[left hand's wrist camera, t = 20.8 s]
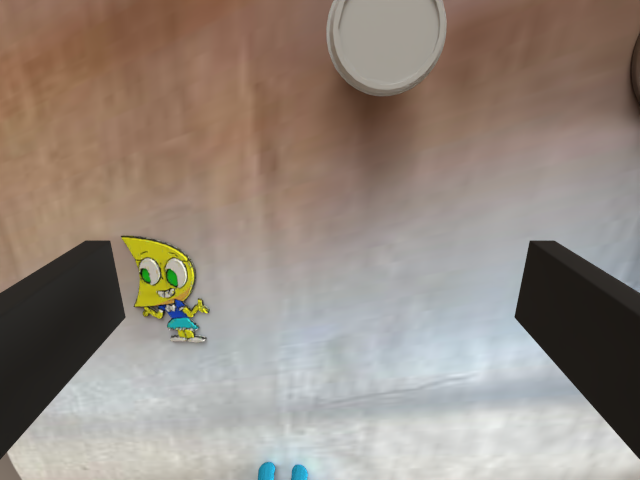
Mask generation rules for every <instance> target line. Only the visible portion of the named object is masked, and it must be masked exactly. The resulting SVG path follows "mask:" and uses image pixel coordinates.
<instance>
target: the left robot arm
mask: <svg viewBox="0 0 640 480" xmlns="http://www.w3.org/2000/svg"><path fill="white" fill-rule="evenodd" d="M631 74H632V84H633V88H634V92H635V95H636V97H637V99H638V101H639V103H640V35H639V38H638V40H637V43H636V46H635V49H634V54H633V59H632V69H631ZM124 318H125V313H124V308H123V303H122V298H121V293H120V288H119V283H118V278H117V273H116V268H115V263H114V258H113V253H112V248H111V243H110V241H84V242H83V243H81V244H79V245H78V246H76V247H75V248H73V249H71V250H70V251H68V252H66V253H65V254H63V255H62V256H60V257H58V258H57V259H55V260H53V261H52V262H50V263H49V264H47V265H45V266H44V267H42V268H40V269H39V270H37V271H36V272H34V273H32V274H31V275H29V276H27V277H26V278H24V279H23V280H21V281H19V282H18V283H16V284H14V285H13V286H11V287H10V288H8V289H6V290H5V291H3V292H1V293H0V459H1V458H2V457H3V456H4V455H5V453H6V452H7V451H8V450H9V449H10V448H11V447H12V445H13V444H14V443H15V442H16V441H17V440H18V439H19V438H20V436H21V435H22V434H23V433H24V432H25V431H26V430H27V428H28V427H29V426H30V425H31V424H32V423H33V422H34V421H35V419H36V418H37V417H38V416H39V415H40V414H41V413H42V411H43V410H44V409H45V408H46V407H47V406H48V405H49V404H50V402H51V401H52V400H53V399H54V398H55V397H56V396H57V394H58V393H59V392H60V391H61V390H62V389H63V388H64V386H65V385H66V384H67V383H68V382H69V381H70V380H71V379H72V377H73V376H74V375H75V374H76V373H77V372H78V371H79V369H80V368H81V367H82V366H83V365H84V364H85V363H86V362H87V360H88V359H89V358H90V357H91V356H92V355H93V354H94V352H95V351H96V350H97V349H98V348H99V347H100V346H101V344H102V343H103V342H104V341H105V340H106V339H107V338H108V337H109V335H110V334H111V333H112V332H113V331H114V330H115V329H116V327H117V326H118V325H119V324H120V323H121V322H122V321H123V320H124ZM515 318H516V320H517V321H518V322H519V323H520V324H521V325H522V326H523V327H524V329H525V330H526V331H527V332H528V333H529V334H530V335H531V337H532V338H533V339H534V340H535V341H536V342H537V343H538V344H539V346H540V347H541V348H542V349H543V350H544V351H545V352H546V354H547V355H548V356H549V357H550V358H551V359H552V360H553V362H554V363H555V364H556V365H557V366H558V367H559V368H560V369H561V371H562V372H563V373H564V374H565V375H566V376H567V377H568V379H569V380H570V381H571V382H572V383H573V384H574V385H575V386H576V388H577V389H578V390H579V391H580V392H581V393H582V394H583V396H584V397H585V398H586V399H587V400H588V401H589V402H590V404H591V405H592V406H593V407H594V408H595V409H596V410H597V411H598V413H599V414H600V415H601V416H602V417H603V418H604V419H605V421H606V422H607V423H608V424H609V425H610V426H611V427H612V428H613V430H614V431H615V432H616V433H617V434H618V435H619V436H620V438H621V439H622V440H623V441H624V442H625V443H626V444H627V445H628V447H629V448H630V449H631V450H632V451H633V452H634V453H635V455H636V456H637V457H638V458H639V459H640V293H639V292H637V291H635V290H634V289H632V288H630V287H629V286H627V285H626V284H624V283H622V282H621V281H619V280H617V279H616V278H614V277H613V276H611V275H609V274H608V273H606V272H604V271H603V270H601V269H600V268H598V267H596V266H595V265H593V264H591V263H590V262H588V261H587V260H585V259H583V258H582V257H580V256H578V255H577V254H575V253H574V252H572V251H570V250H569V249H567V248H565V247H564V246H562V245H561V244H559V243H557V242H556V241H530V243H529V248H528V253H527V258H526V263H525V268H524V273H523V278H522V283H521V288H520V293H519V298H518V303H517V308H516V313H515Z"/></svg>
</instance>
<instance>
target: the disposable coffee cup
mask: <svg viewBox="0 0 640 480" xmlns="http://www.w3.org/2000/svg"><path fill="white" fill-rule="evenodd" d="M446 25H447V22H446V13H445V8H444V5H443V1H442V0H334V1H333V3H332V6H331V9H330V12H329V15H328V21H327V28H326V31H327V45H328V51H329V54H330V57H331V60H332V62H333V64H334V66H335V68H336V70H337V71H338V73H339V74H340V75H341V76H342V78H343V79H344V80H345V81H346V82H347V83H348V84H350V85H351V86H353V87H354V88H355V89H357V90H359V91H361V92H364V93H366V94H369V95H374V96H392V95H396V94H400V93H403V92H405V91H407V90H410V89H412V88H413V87H414V86H416V85H417V84H419V83H420V82H421V81H422V80H423V79H424V78H425V77H426V76H427V75H428V74H429V73H430V72H431V70H432V69H433V68H434V66H435V64H436V63H437V61H438V59H439V57H440V54H441V52H442V50H443V46H444V42H445V37H446Z"/></svg>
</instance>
